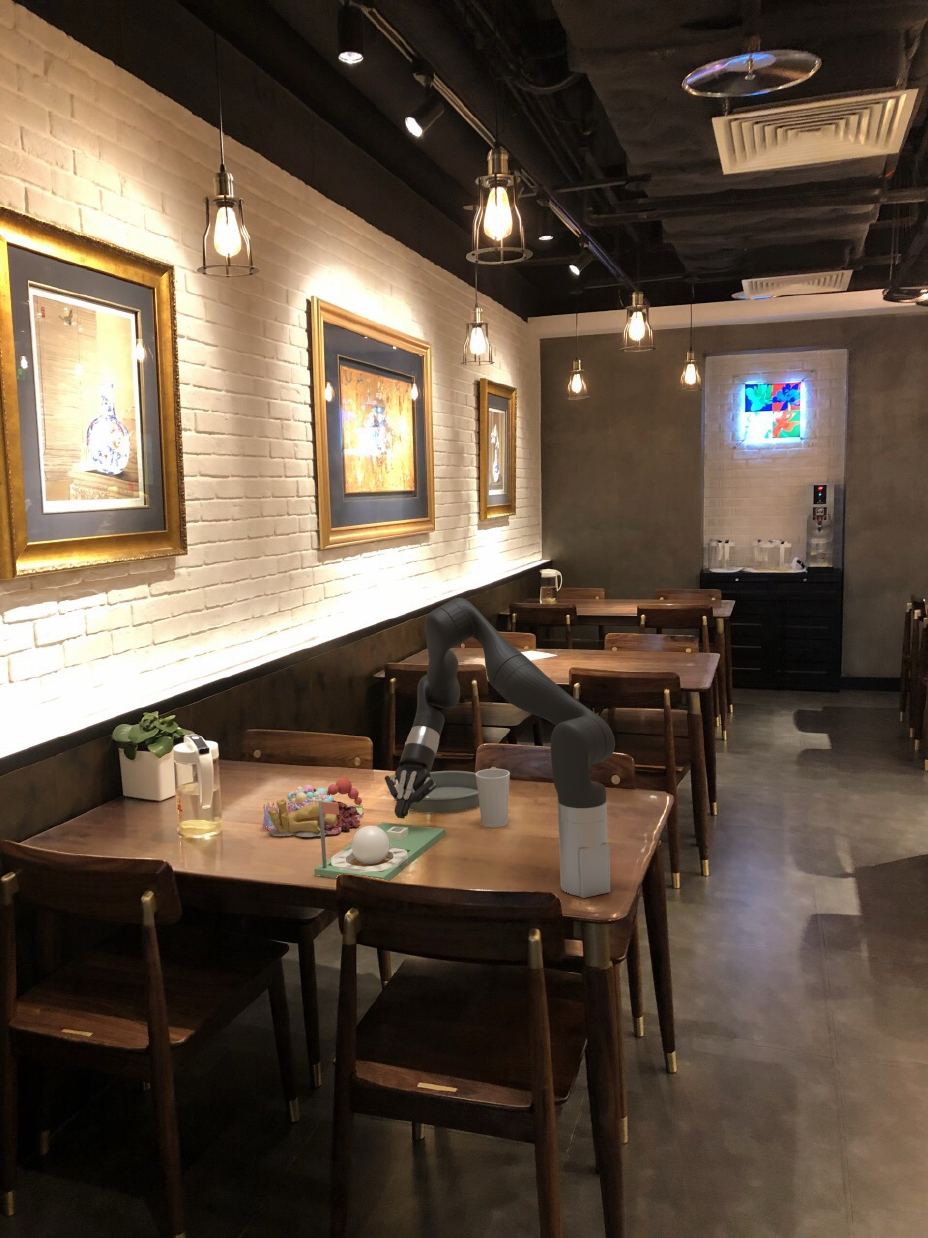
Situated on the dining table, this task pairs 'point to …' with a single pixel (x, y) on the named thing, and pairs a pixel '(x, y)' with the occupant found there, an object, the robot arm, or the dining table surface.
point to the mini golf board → (402, 851)
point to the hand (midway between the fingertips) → (399, 816)
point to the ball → (370, 845)
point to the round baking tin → (449, 793)
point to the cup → (493, 796)
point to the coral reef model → (313, 811)
